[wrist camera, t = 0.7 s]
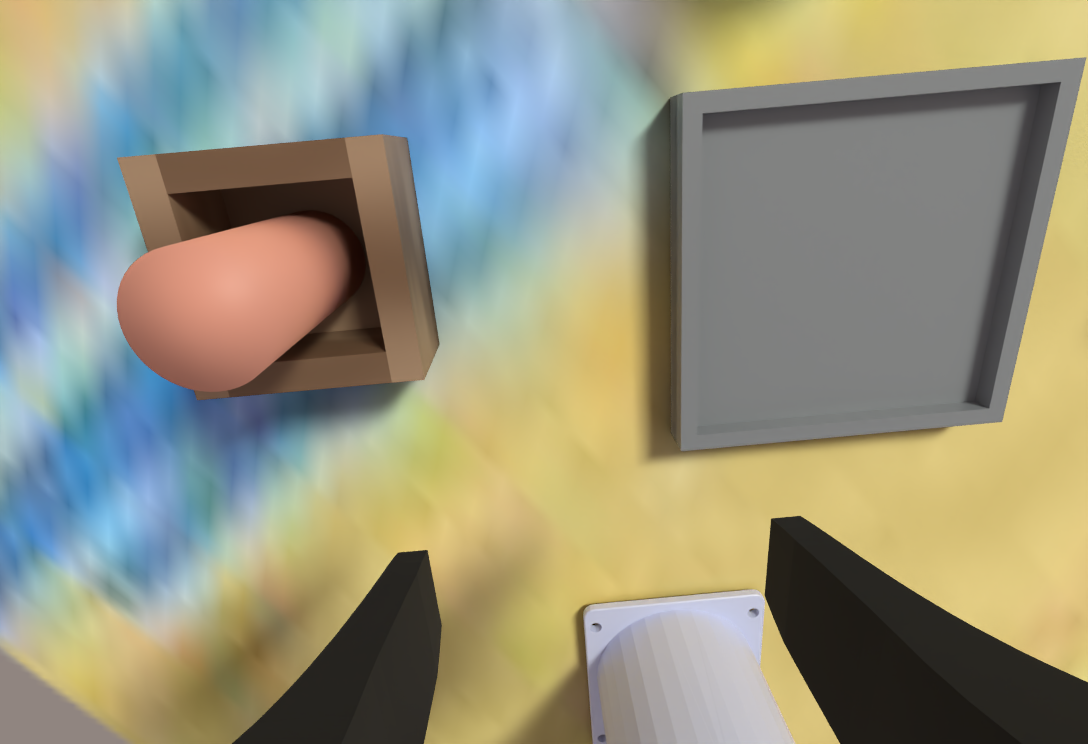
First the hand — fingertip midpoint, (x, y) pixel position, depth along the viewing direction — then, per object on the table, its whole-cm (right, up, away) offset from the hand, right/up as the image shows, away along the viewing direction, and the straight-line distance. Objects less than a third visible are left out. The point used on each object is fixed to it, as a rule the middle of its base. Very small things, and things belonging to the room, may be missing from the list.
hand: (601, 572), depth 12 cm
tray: (+9, +8, +8) cm, 15 cm away
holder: (-9, +8, +8) cm, 14 cm away
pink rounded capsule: (-9, +8, +7) cm, 14 cm away
